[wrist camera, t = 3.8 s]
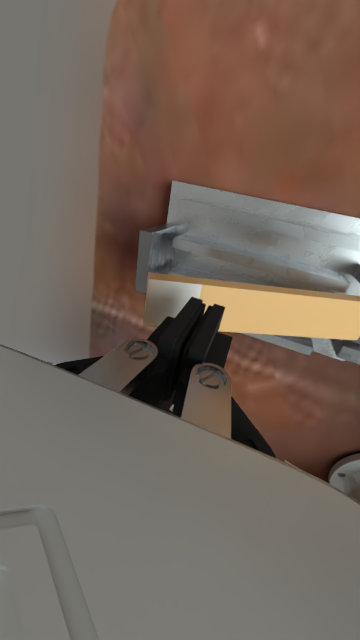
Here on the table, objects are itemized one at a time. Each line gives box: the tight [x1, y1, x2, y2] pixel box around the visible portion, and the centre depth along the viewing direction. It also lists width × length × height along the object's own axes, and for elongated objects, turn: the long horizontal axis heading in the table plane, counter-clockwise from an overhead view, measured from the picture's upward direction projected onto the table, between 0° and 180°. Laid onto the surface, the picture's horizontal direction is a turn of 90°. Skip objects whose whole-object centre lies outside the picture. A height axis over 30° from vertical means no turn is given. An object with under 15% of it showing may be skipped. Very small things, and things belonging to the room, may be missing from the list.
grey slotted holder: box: [135, 181, 360, 364], centre depth 21 cm, size 20×12×8 cm, turn 80°
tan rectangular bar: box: [143, 272, 360, 344], centre depth 16 cm, size 17×3×2 cm, turn 80°
